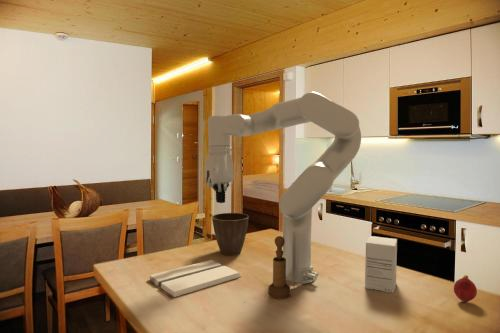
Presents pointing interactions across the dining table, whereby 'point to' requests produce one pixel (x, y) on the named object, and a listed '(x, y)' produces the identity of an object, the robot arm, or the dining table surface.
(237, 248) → the plant pot
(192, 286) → the pale plank
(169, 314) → the dining table surface
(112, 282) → the dining table surface
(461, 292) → the onion
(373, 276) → the supplement box
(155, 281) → the white grooved board
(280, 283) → the mortar and pestle
